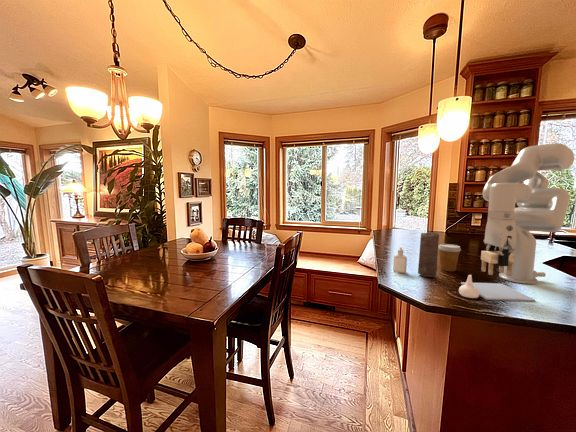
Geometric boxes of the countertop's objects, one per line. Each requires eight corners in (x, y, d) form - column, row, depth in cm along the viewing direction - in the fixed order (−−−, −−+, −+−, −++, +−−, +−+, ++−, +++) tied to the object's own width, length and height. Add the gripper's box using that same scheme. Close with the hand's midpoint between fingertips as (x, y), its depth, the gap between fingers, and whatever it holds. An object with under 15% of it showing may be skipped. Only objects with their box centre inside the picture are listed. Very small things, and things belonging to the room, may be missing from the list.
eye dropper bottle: (400, 274, 119) (401, 248, 117) (391, 270, 124) (392, 246, 123) (407, 272, 120) (408, 248, 119) (398, 269, 125) (399, 245, 124)
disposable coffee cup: (459, 268, 127) (460, 245, 126) (459, 273, 119) (461, 248, 118) (437, 265, 132) (438, 243, 131) (436, 270, 124) (437, 246, 123)
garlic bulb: (458, 292, 98) (457, 272, 98) (478, 294, 95) (477, 273, 95) (459, 298, 93) (458, 276, 93) (480, 300, 90) (479, 278, 89)
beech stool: (501, 271, 99) (503, 251, 98) (512, 276, 93) (514, 254, 93) (479, 270, 100) (481, 250, 99) (489, 275, 94) (491, 254, 94)
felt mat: (501, 285, 105) (501, 283, 104) (535, 301, 89) (535, 299, 89) (460, 283, 106) (460, 282, 106) (486, 299, 90) (486, 298, 90)
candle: (439, 279, 111) (441, 234, 109) (420, 278, 112) (423, 234, 110) (432, 274, 118) (435, 231, 116) (415, 273, 119) (417, 231, 118)
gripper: (531, 218, 86) (526, 270, 87) (495, 214, 103) (491, 258, 104) (507, 218, 86) (502, 270, 88) (475, 214, 103) (472, 257, 105)
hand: (496, 263), depth 96 cm, fingers closed on beech stool, 5 cm apart
